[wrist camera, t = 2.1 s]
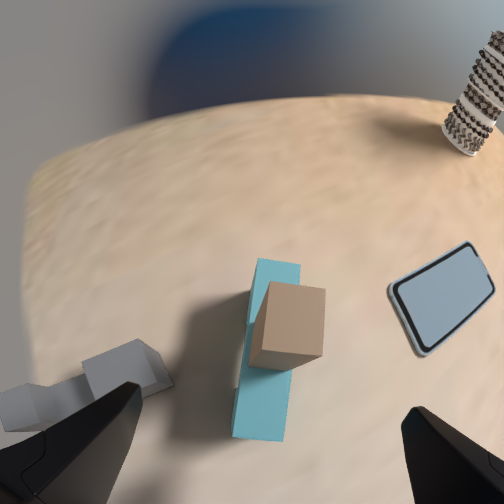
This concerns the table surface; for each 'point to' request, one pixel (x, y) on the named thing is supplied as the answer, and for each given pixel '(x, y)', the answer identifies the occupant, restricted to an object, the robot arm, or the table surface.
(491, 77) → the decorative candle
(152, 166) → the table surface
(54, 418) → the slotted bar
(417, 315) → the smartphone
